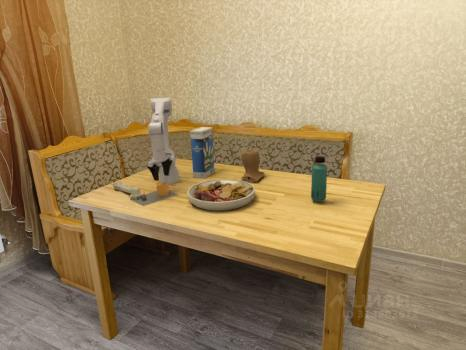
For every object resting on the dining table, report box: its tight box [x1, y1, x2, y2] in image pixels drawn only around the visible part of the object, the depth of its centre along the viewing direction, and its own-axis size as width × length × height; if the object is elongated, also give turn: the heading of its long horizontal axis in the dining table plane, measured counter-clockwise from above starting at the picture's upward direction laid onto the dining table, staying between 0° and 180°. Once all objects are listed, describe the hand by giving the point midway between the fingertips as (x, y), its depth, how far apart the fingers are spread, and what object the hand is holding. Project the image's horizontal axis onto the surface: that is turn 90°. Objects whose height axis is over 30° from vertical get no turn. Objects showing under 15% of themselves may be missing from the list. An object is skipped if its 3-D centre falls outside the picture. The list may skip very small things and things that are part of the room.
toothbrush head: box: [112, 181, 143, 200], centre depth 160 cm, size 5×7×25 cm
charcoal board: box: [129, 190, 178, 207], centre depth 153 cm, size 18×12×4 cm, turn 135°
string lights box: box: [189, 126, 215, 179], centre depth 183 cm, size 13×8×26 cm, turn 159°
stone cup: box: [240, 149, 265, 183], centre depth 176 cm, size 15×12×15 cm
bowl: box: [187, 178, 256, 212], centre depth 149 cm, size 30×30×8 cm
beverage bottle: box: [310, 155, 328, 202], centre depth 141 cm, size 6×7×20 cm
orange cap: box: [156, 182, 170, 196], centre depth 156 cm, size 5×5×5 cm
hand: (161, 177), depth 154 cm, fingers open, 7 cm apart
